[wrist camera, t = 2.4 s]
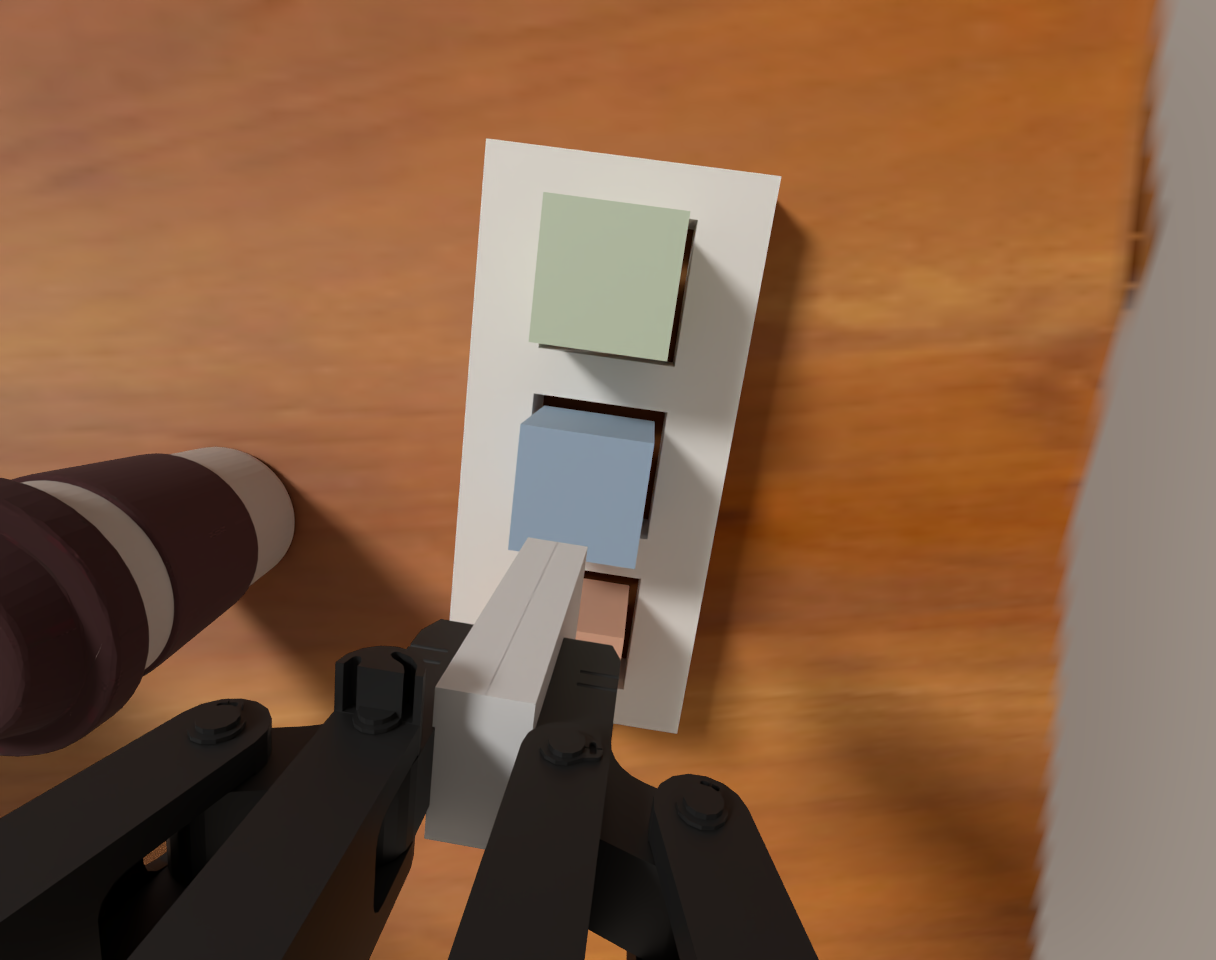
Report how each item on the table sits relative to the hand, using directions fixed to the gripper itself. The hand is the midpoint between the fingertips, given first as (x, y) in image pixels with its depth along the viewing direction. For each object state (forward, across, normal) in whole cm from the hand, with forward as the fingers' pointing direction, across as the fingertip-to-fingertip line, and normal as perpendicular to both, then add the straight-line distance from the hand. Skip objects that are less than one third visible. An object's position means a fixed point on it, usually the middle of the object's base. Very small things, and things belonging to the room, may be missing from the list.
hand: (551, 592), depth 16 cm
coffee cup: (+17, -20, -6) cm, 26 cm away
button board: (+17, 0, 0) cm, 17 cm away
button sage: (+14, 0, +8) cm, 16 cm away
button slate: (+14, 0, 0) cm, 14 cm away
